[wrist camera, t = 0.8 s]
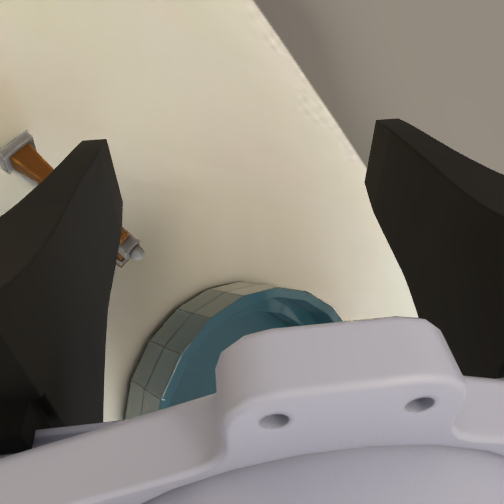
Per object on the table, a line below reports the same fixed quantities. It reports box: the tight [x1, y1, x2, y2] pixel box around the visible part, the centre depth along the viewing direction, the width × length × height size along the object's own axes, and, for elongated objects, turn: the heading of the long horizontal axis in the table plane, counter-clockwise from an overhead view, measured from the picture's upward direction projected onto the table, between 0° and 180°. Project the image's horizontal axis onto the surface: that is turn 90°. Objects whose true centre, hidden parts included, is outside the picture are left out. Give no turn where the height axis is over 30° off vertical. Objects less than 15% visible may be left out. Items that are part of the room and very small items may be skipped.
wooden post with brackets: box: [0, 130, 144, 268], centre depth 24 cm, size 2×8×4 cm, turn 44°
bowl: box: [125, 282, 343, 420], centre depth 30 cm, size 15×15×4 cm
